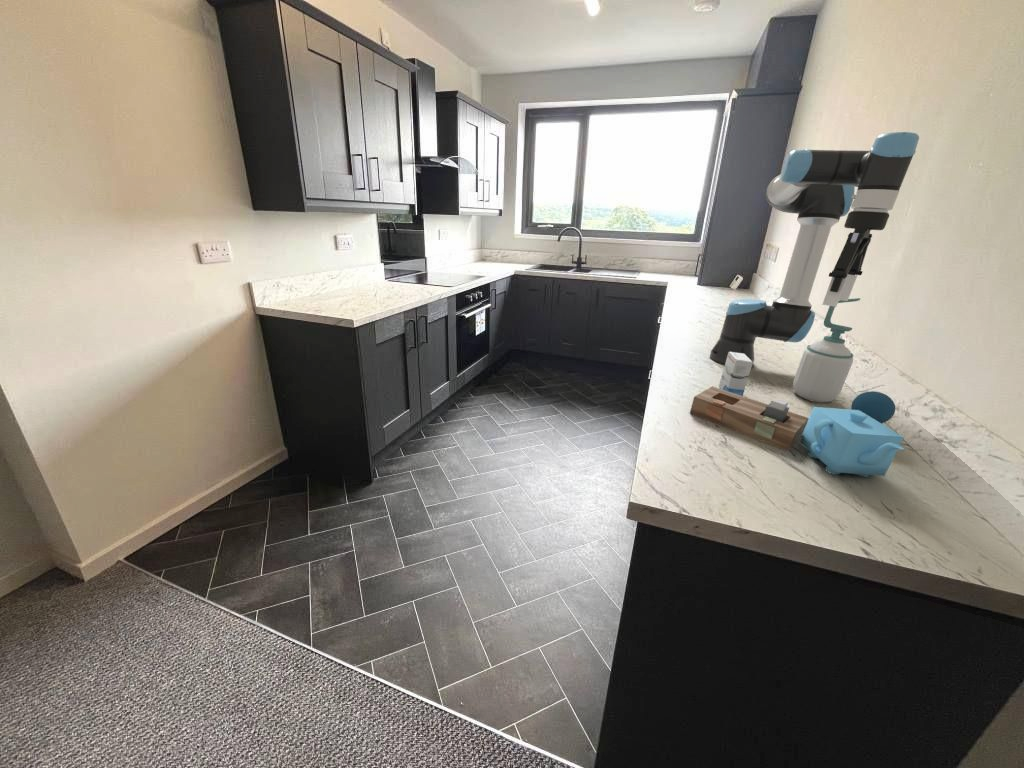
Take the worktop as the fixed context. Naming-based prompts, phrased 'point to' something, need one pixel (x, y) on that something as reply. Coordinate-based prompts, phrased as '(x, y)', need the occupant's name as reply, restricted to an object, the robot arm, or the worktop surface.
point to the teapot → (850, 441)
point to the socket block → (748, 417)
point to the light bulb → (875, 405)
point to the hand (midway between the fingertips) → (835, 302)
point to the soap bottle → (824, 364)
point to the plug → (777, 410)
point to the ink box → (735, 373)
